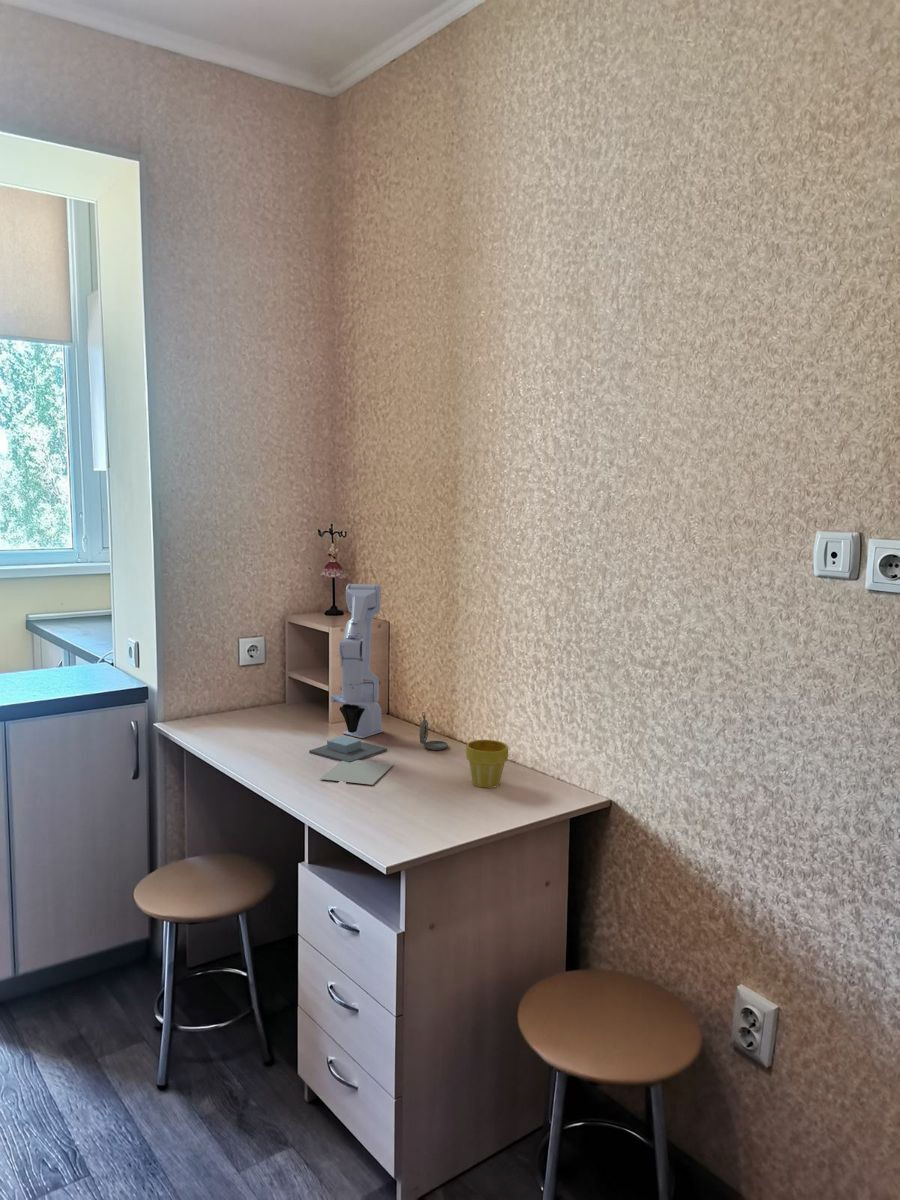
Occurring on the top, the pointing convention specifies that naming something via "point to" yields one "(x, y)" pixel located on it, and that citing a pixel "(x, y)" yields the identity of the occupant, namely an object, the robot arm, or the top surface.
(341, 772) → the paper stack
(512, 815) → the top surface
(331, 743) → the blue-grey rectangular block
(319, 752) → the mat
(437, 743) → the pocket watch
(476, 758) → the plant pot
